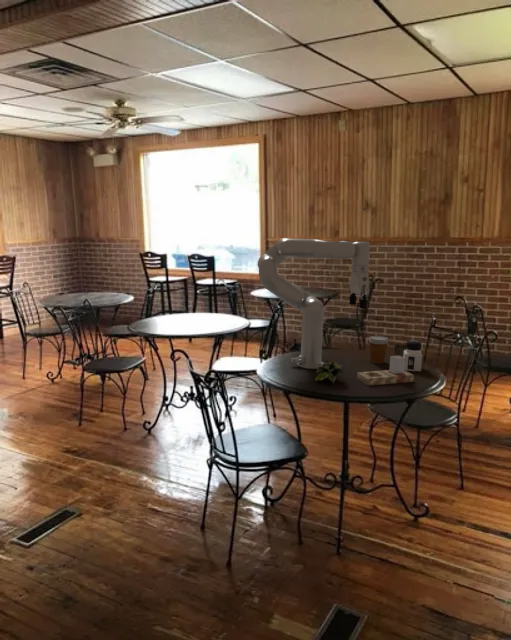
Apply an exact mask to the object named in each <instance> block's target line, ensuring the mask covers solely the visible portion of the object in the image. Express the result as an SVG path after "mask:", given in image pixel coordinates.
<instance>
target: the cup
mask: <svg viewBox="0 0 511 640" xmlns="http://www.w3.org/2000/svg"><path fill="white" fill-rule="evenodd" d="M393 347H394V356H401V357H403V354H404V350H406V344H402V343H401V344H399V343H396V344H395V345H393Z"/></svg>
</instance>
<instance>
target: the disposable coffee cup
mask: <svg viewBox="0 0 511 640" xmlns="http://www.w3.org/2000/svg"><path fill="white" fill-rule="evenodd" d="M368 343H369V345H368V346H369V357H370V358H369V359H370V363H373V364H378V365H380V364H384V362H385V358H386V351H387V348H388V344H389V338H388V337H386V336H382V335H373V336H372V335H371V336H369V338H368Z"/></svg>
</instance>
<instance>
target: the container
mask: <svg viewBox="0 0 511 640" xmlns="http://www.w3.org/2000/svg"><path fill="white" fill-rule="evenodd" d="M405 345H406V350H404V354H403V357H404V358H405V365H404V370H405V371H408V372H421V371H422V365H423V354H422V351H421V350H422V343H421V342H420V341H418V340H407V341H406V344H405Z"/></svg>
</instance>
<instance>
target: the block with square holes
mask: <svg viewBox="0 0 511 640" xmlns="http://www.w3.org/2000/svg"><path fill="white" fill-rule="evenodd" d="M414 376H415V375H414V374H412V373H411V372H410V371H408V370H404V374H402V375H393V374H391V373H389V369H388V370H387V369H385V370H384V369H383V370H374V371H373V370H372V371H361V372H360V371H359V372H358V371H357V373H356V380H357V381H359V382H361V383H362V384H364V385H366V386H377V385H389V384H390V385H392V384H401V383H403V384H404V383H412V382H414Z"/></svg>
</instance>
